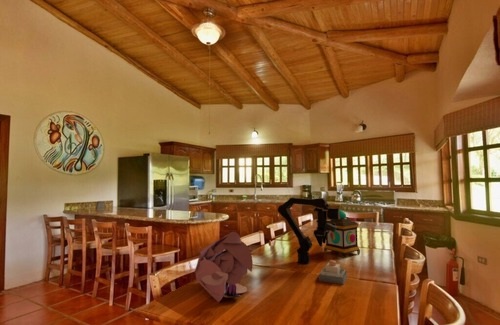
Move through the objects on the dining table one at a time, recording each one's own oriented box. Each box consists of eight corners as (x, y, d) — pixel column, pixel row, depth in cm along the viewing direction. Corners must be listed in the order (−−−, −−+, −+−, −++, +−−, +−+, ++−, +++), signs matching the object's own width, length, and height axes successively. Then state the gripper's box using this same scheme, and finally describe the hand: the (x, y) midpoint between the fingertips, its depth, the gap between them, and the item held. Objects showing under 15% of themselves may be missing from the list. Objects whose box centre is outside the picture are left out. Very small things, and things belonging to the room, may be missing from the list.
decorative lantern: (363, 254, 191) (361, 210, 193) (345, 259, 180) (343, 212, 182) (339, 248, 208) (338, 208, 210) (321, 252, 196) (320, 210, 199)
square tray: (318, 280, 140) (318, 271, 141) (323, 273, 151) (323, 265, 151) (343, 284, 135) (343, 275, 135) (346, 277, 146) (346, 268, 146)
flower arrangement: (263, 306, 123) (276, 242, 127) (224, 313, 107) (240, 239, 111) (215, 279, 148) (226, 226, 152) (177, 281, 131) (191, 221, 135)
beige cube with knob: (325, 273, 142) (325, 261, 142) (328, 270, 147) (327, 259, 148) (337, 275, 139) (337, 263, 140) (339, 272, 145) (339, 260, 145)
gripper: (332, 221, 157) (333, 249, 156) (338, 217, 174) (338, 243, 173) (313, 220, 162) (313, 247, 161) (320, 216, 179) (320, 241, 178)
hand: (322, 244), depth 168 cm, fingers open, 9 cm apart
